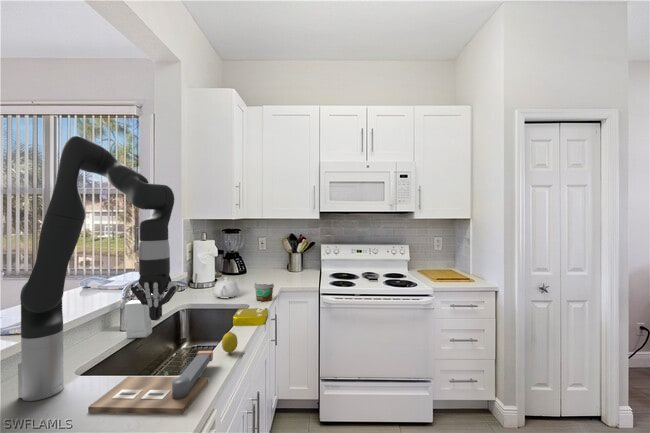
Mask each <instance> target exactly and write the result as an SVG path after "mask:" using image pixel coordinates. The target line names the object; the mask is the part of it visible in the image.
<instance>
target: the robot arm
mask: <svg viewBox="0 0 650 433" xmlns="http://www.w3.org/2000/svg"><path fill="white" fill-rule="evenodd" d="M58 163H59V164H58V168H57V174H56V179H55V184H54V187H53V191H52V195H51V198H50V200H49V204H48V206H47V209H46V212H45V214H44V218H43V221H42V224H41V229H40V233H39V239H38V244H37V253H36V260H35V263H34V266H33V269H32V271H31V273H30V276H29V278H28V280H27V282H26V283H25V284H24V285H23V286H22V288H21V291H20V346H21V347H20V348H21V349H20V350H21V351H20V354H21V355H20V356H21V357H20V358H21V361H20V362H19V363H18V364H17V387H18V388H17V391H18V393H17V394H18V396H17V397H18V399H20V398H21V399H22V400H23V401H26V402H33V401H39V400H45V399H47V398H50V397H52V396H55V395H57V394H59V393H60V392H61V391H63V389H64V388H65V377H64V376H65V373H64V372H65V371H64V370H65V367H64V365H65V362H64V358H65V357H64V315H63V297H64V290H65V282H66V276H67V271H68V266H69V265H70V261H71V258H72V256H73V253H74V251H75V249H76V247H77V244H78V241H79V238H80V236H81V232H82V229H83V226H84V223H85V220H86V214H87V213H86V208H85V205H84V202H83V199H82V196H81V193H80V190H79V176H80V171H84V172H86V173H91V174H96V175H99V176H102V177H104V178H107V180H108V182H109V183H110V185H112V186H113V187H114V188H115V189H116V190H118V191H120V192H121V193H122V194H124V195H125V196H126V197H127V198H128V200H129V201H130V203H131V204H132V205H133V206H134V207H136V208H138V209H141V210H144V211H145V210H151V211H152V210H153V213H152V215H151V216H150V217H148V218H144V219H142V220H140V222H139V226H138V228H139V229H138V230H139V246H138V274H139V279H138V283H137V284H135V285H133V286H131V287H130V291H131V293H133V295H134V296H135V297H136V300H139V301H140V302H141V304H142V305H148V307H149V317H150V318H151V321H154V322H155V321H156V322H157V321H159V320H161V317H162V316H163V305H165V304H168V303H169V302H170V301H171V299H172V298H173V297H174V295H175V294H176V292H177V291H178V289H179V288H180V285H179V284H175V283H174V282H172V278H171V276H170V273H171V261H170V260H171V259H170V258H171V256H170V255H171V250H170V242H169V224H170V220H171V218H172V217H171V216H172V212H173V209H174V204H175V195H174V194H175V193H174V191H173V190H172V188H171V187H169V185H166V184H159V183H158V184H157V183H149V181H148V180H149V179H148V178H146V177H145V176H144V175H143V174H141V173H140V172H137V170H135V169H133V168H131V167H129V166H127V165H126V164H124V163H122V162H121V161H120V160H118V159H117V158H116V157H115V156H114V155H113V154H112V153H111V152H110V151H109V150H108V149H106V148H105V146H102V145H101V144H98V143H96V142H94V141H91V140H88V139H86V138H84V137H81V136H79V135H78V136H77V135H75V136H72V137H70V138H69V139H67V141H65V143H64V145H63V148H62V150H61V153H60V158H59V162H58ZM166 290H167V292H166V293H165V291H166Z"/></svg>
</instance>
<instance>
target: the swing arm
mask: <svg viewBox="0 0 650 433" xmlns="http://www.w3.org/2000/svg"><path fill="white" fill-rule="evenodd" d="M213 359H214V351H213V350H199V351H197V353H196V356H195V357H194V359H192V361H191V362H190V363H189V364H188V365H187V367H186V368H185V370H183V372H182V373H181V374H180V375H179V378H177V379H175V380H173V381H172V397H173V398H175V399H180V398H184V397H186V396H188V395H189V394H190V389H191V388H192V386H193V385H194V384H195V382H196V381H197V379H198V378H199V377H200V376H201V375H202V373H203V372H204V370H205V369H206V368H207V366H208V365H209V364H210V362H212V361H213Z"/></svg>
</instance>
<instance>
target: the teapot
mask: <svg viewBox="0 0 650 433" xmlns="http://www.w3.org/2000/svg"><path fill="white" fill-rule="evenodd" d="M239 292H240V288H239V286H238V284H237V281H236V280H234V279H232V277H229V276H226V277H223V279H221V280H217V281H216V283H215V285H214V286H213V290H212V294H213V296H215V297H216V298H217V297H233V296H235V297H236V296H238V294H239ZM233 298H234V297H233Z"/></svg>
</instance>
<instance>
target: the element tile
mask: <svg viewBox="0 0 650 433" xmlns="http://www.w3.org/2000/svg"><path fill="white" fill-rule="evenodd" d="M268 319H269V309H268V308H267V307H259V308H256V307H255V308H253V307H252V308H239V309H237V311H236V312H235V314H234V315H233V316H232V325H233V326H234V327H248V326H251V327H253V326H254V327H255V326H256V327H257V326H265V325H266V324H267V322H268Z"/></svg>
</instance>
